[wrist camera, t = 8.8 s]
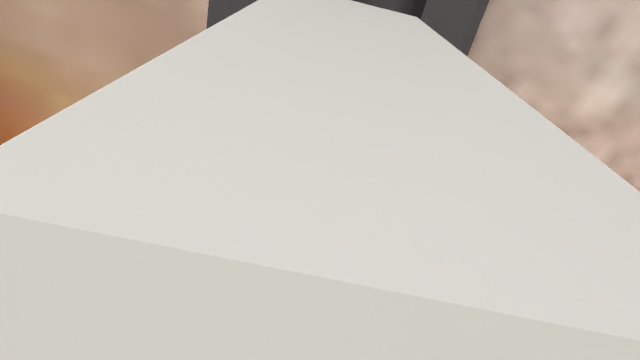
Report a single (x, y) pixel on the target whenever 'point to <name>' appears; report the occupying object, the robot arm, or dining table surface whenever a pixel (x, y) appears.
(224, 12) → the floor track
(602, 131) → the dining table surface
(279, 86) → the door panel
